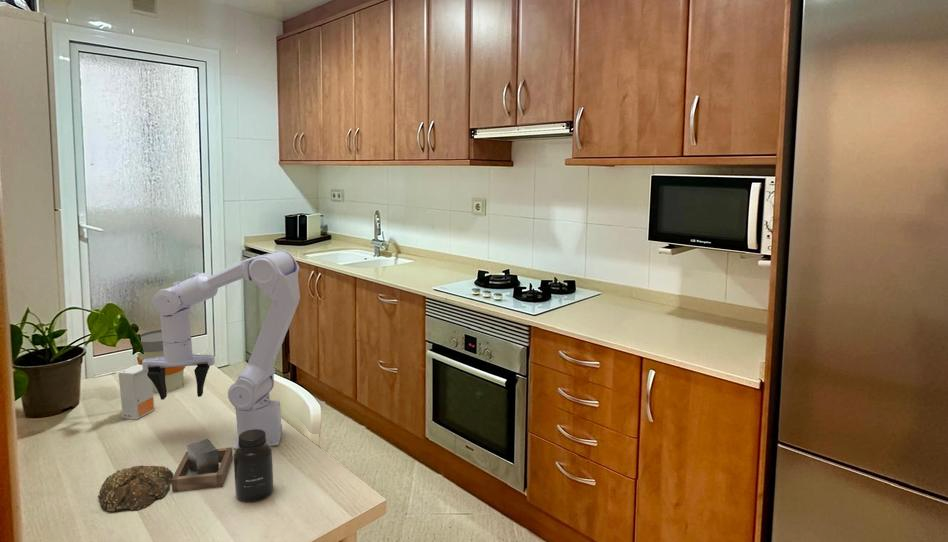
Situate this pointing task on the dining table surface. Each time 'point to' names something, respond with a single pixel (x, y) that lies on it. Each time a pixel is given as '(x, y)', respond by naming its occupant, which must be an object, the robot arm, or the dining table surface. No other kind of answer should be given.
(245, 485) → the supplement bottle
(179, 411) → the dining table surface
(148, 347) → the reusable coffee cup
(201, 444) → the steel bracket block
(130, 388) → the skincare box
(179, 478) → the wooden frame
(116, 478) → the bread roll
